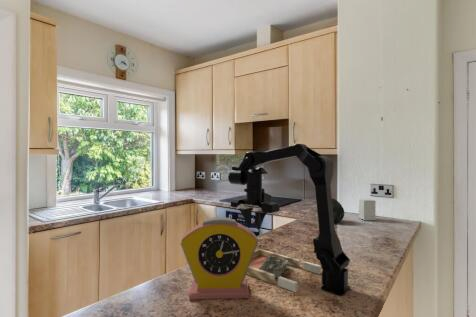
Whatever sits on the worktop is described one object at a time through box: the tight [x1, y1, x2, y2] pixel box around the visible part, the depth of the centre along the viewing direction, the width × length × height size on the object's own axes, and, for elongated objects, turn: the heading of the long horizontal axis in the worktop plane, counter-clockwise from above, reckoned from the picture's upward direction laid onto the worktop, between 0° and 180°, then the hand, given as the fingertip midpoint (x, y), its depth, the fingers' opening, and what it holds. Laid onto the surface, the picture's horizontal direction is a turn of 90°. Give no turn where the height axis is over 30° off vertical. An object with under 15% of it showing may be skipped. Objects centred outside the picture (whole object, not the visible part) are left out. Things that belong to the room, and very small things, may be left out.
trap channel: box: [246, 248, 301, 284], centre depth 98 cm, size 18×17×2 cm
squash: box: [332, 198, 345, 224], centre depth 167 cm, size 14×15×15 cm
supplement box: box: [358, 198, 376, 221], centre depth 172 cm, size 7×7×13 cm
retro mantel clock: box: [180, 216, 258, 301], centre depth 81 cm, size 22×9×22 cm, turn 93°
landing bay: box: [277, 261, 322, 293], centre depth 89 cm, size 6×17×2 cm, turn 139°
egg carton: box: [260, 254, 288, 278], centre depth 96 cm, size 11×8×4 cm
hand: (254, 228), depth 101 cm, fingers open, 4 cm apart
